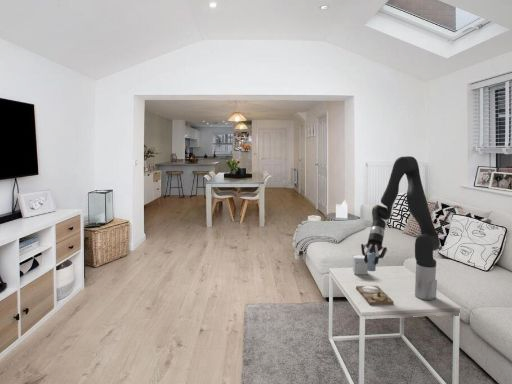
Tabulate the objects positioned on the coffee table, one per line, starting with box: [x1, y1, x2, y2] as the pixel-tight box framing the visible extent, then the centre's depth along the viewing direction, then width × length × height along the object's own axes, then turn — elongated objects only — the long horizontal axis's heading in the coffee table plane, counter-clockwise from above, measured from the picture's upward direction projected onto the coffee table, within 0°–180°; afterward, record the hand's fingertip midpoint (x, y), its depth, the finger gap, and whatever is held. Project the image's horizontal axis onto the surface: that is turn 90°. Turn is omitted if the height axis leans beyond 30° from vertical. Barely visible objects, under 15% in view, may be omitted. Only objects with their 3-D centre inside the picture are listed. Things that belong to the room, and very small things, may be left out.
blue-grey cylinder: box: [367, 252, 377, 272], centre depth 176 cm, size 4×4×9 cm
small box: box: [352, 255, 368, 275], centre depth 207 cm, size 8×6×10 cm
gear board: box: [355, 285, 394, 306], centre depth 173 cm, size 20×12×5 cm, turn 2°
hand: (370, 263), depth 175 cm, fingers closed on blue-grey cylinder, 4 cm apart
